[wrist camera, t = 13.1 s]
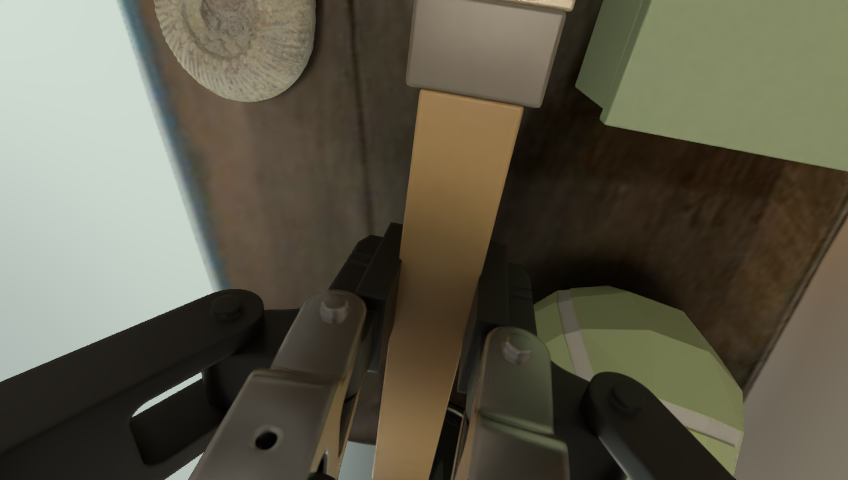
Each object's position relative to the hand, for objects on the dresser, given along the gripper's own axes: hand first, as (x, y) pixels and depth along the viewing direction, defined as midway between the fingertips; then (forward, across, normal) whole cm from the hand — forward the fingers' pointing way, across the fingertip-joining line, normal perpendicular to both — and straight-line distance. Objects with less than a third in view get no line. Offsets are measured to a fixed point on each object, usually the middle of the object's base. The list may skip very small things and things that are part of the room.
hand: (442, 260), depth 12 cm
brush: (+1, 0, 0) cm, 1 cm away
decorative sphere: (+18, -13, +15) cm, 27 cm away
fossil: (+19, +16, -4) cm, 25 cm away
